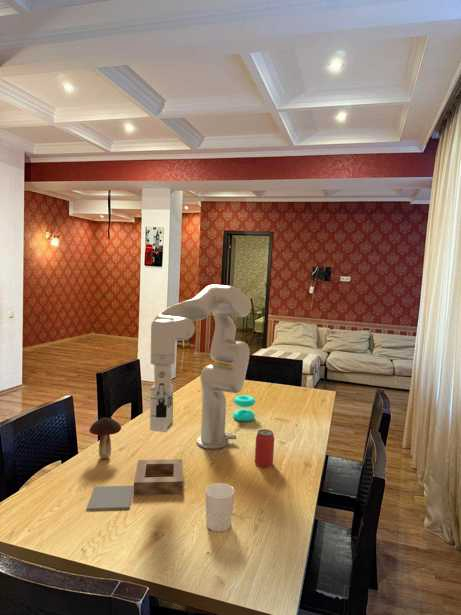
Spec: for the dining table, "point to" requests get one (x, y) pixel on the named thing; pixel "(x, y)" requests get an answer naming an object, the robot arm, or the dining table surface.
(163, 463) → the walnut pocket holder
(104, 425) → the decorative mushroom
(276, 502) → the dining table surface
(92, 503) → the slate mat
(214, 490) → the white cup
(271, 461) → the beer can
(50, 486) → the dining table surface
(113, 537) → the dining table surface
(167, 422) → the syrup box
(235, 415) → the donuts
